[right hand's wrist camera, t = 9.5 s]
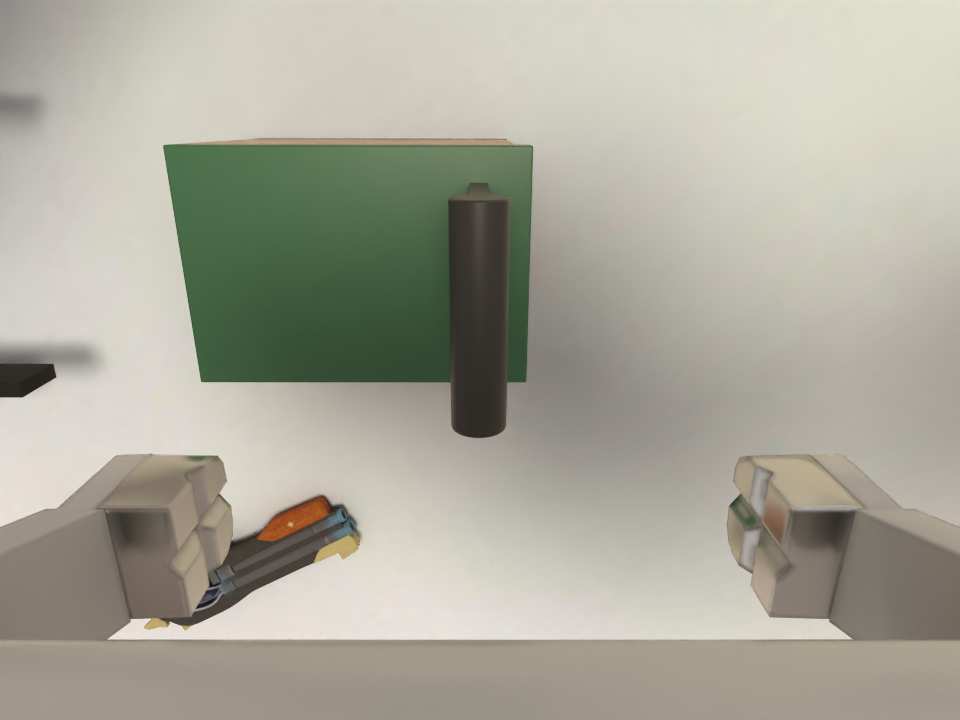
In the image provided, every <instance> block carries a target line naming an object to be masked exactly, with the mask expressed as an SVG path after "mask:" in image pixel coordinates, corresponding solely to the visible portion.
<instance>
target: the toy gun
mask: <svg viewBox="0 0 960 720" xmlns="http://www.w3.org/2000/svg"><path fill="white" fill-rule="evenodd" d="M355 532H356V528H355V525H354V523H353V521H352V520H350V519H348V520H347V514H346V512H345V511H344V509H343V508H340V509H337V508H334V509H332V510H331V508H330V507H329V505H328V503H327V502H326V500H325V499H324V498H322V497H319V498H317V499H314V500H312V501H310V502H307V503H305V504H302V505H300V506H298V507H296V508H293V509H291V510H289V511H287V512H284V513H282V514H280V515H278V516H276V517H274V518H273V519H272V520H271V521H270V523H269V524H268V525H267V526H266V527H265V528H264V530H263V531H262V532H261V533H260V534H259V535H258V536H256V537H254V538H252V539H250V540H248V541H246V542H244V543H241V544H239V545H236V546H233V547H229V551H228V554H227V556H226V558H225V559H224V561H223V563H222V565H221V566H219V567H218V568H216V569H215V570H213V571H211V572H210V573H208V580H209V587H208V589H207V590H206V592H205V594H204V595H203V597H202V599H201V600H200V601H203V600H206V599H209V598H213V597H214V595H215V594H216V592H217V590H218V589H219V587H221V591H222V592H221V593H220V594H219V596H218V597H216V598H214V599H212V600H210V601H208V602H205V603H203V604H200V605H198V606H197V607H196V609H195V611H194V612H193V614H192V616H191V617H180V618H151V621H150V622H148V623H147V624H146V625H145V626H144V628H145V629H154V628H157V627H160V626H161V627H168V625H169V624H170V623H169V622H173V623H175V624H178V625H181V626H182V627H183V628H184V630H186V629H188V628H189V627H191V626H192V625H194V624H197V623H200V622H202V621H204V620H206V619H208V618H210V617H212V616H214V615H216V614H219V613H221V612H223V611H225V610H226V609H228V608H230V607H232V606H233V605H235V604H236V603H238V602H239V601H240V600H242V599H243V598H244V597H246V596H247V595H248V594H250V593H251V592H252V591H254V590H256V589H258V588H260V587H262V586H265V585H267V584H269V583H271V582H273V581H275V580H277V579H279V578H281V577H284V576H286V575H288V574H290V573H292V572H294V571H296V570H298V569H301V568H303V567H305V566H308V565H310V564H312V563H316V562H318V561H321V560H323V559H325V558H327V557H330V556H332V555H334V554H336V553H339V554H340V556H341V557H342V559H345V558H346V557H348V556H349V555H350V554H352V553H353V552H355V551H356V550H358V546H359V545H360V544H359V543H360V539H359V537H358V536H357V534H356V533H355Z"/></svg>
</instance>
